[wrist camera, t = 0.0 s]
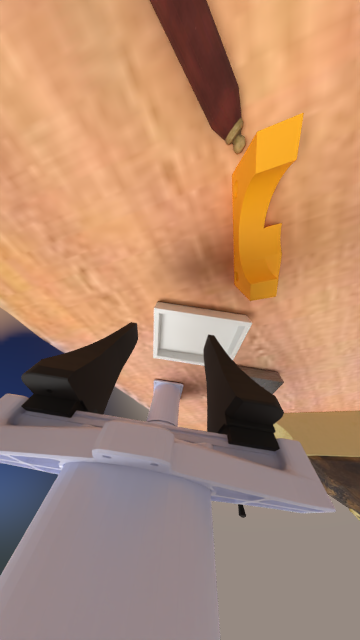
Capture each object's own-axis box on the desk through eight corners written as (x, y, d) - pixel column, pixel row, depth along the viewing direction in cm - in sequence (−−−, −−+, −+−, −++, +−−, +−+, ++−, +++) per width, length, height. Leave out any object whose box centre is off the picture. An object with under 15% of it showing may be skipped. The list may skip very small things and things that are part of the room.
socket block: (257, 394, 34) (261, 405, 32) (220, 389, 34) (222, 398, 32) (277, 371, 29) (284, 382, 27) (233, 364, 29) (236, 374, 27)
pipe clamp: (265, 278, 19) (294, 293, 13) (234, 284, 20) (249, 300, 14) (276, 159, 13) (339, 98, 7) (231, 175, 14) (257, 131, 8)
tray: (225, 359, 28) (228, 369, 26) (156, 349, 28) (153, 357, 26) (246, 315, 22) (252, 323, 20) (157, 301, 22) (154, 307, 20)
